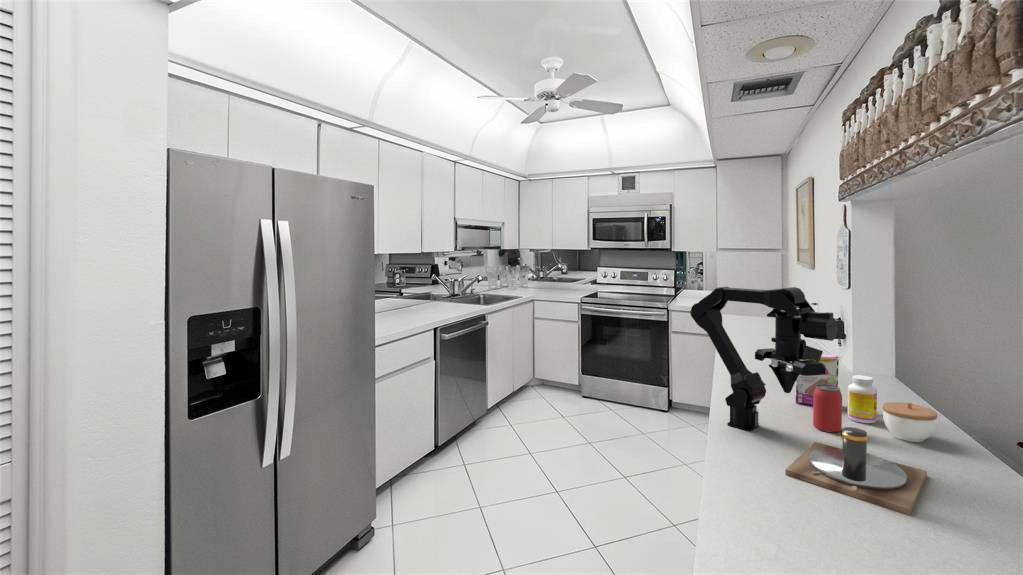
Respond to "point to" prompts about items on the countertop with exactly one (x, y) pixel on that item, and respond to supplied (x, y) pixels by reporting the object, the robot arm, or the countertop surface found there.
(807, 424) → the countertop surface
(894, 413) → the lidded jar
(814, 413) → the beer can
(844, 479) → the dial
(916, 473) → the base plate
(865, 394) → the supplement bottle
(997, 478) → the countertop surface
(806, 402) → the candy bar box
